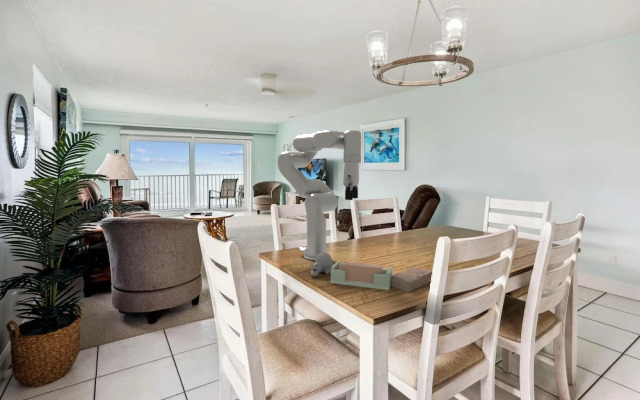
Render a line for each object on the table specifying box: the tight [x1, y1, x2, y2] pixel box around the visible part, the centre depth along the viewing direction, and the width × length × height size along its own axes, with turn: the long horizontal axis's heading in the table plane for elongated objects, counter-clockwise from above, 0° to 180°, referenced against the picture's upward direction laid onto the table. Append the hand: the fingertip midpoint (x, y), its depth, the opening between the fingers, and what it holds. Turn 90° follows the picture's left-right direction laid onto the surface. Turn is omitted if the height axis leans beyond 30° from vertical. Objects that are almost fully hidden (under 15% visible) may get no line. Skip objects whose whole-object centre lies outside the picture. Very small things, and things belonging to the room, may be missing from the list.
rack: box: [330, 261, 393, 291], centre depth 126 cm, size 22×9×6 cm, turn 70°
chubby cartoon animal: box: [310, 252, 335, 278], centre depth 136 cm, size 7×12×8 cm, turn 137°
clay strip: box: [339, 261, 384, 283], centre depth 126 cm, size 16×4×6 cm, turn 72°
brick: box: [390, 266, 433, 292], centre depth 125 cm, size 16×8×5 cm, turn 133°
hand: (351, 199), depth 144 cm, fingers open, 9 cm apart
